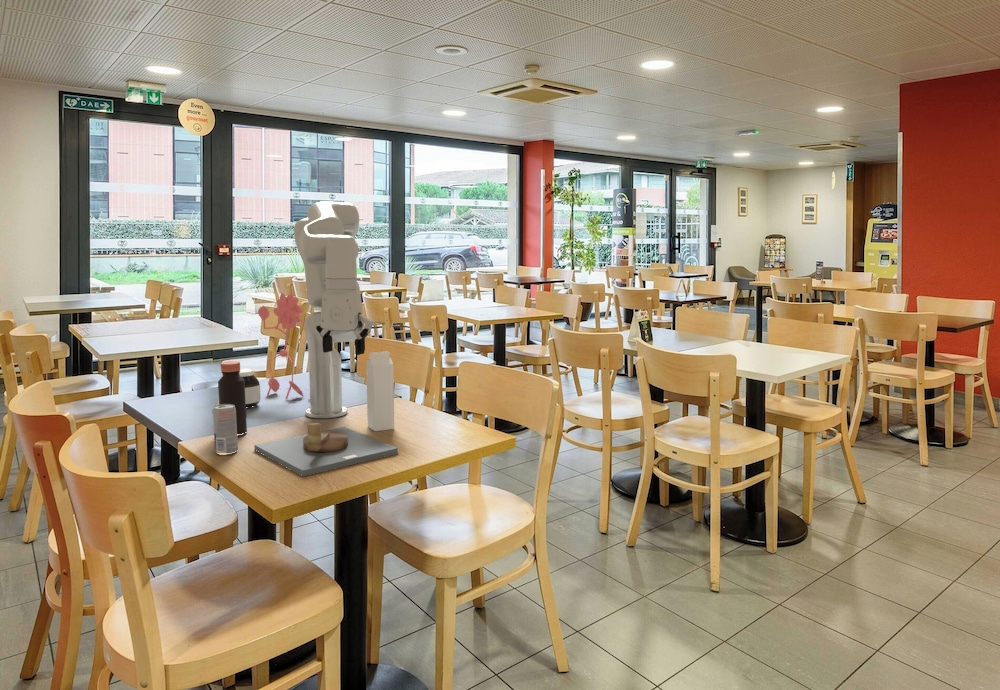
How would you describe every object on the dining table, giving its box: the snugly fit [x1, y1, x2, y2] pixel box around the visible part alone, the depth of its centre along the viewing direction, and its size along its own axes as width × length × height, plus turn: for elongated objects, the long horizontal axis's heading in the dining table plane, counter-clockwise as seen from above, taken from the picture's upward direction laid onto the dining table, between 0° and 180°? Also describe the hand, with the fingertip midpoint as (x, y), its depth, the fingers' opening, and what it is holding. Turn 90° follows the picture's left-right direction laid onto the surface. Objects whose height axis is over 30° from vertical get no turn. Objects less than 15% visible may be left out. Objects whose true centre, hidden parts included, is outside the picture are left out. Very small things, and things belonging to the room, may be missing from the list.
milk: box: [365, 351, 395, 432], centre depth 200 cm, size 6×6×22 cm
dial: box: [303, 422, 348, 452], centre depth 175 cm, size 16×11×8 cm
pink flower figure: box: [257, 292, 305, 402], centre depth 239 cm, size 15×26×35 cm, turn 59°
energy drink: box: [212, 404, 239, 453], centre depth 177 cm, size 5×5×12 cm
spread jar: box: [216, 368, 261, 408], centre depth 223 cm, size 12×11×12 cm
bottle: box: [217, 360, 248, 434], centre depth 192 cm, size 7×7×20 cm
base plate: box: [254, 426, 399, 477], centre depth 178 cm, size 26×26×2 cm
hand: (343, 352), depth 179 cm, fingers open, 9 cm apart
